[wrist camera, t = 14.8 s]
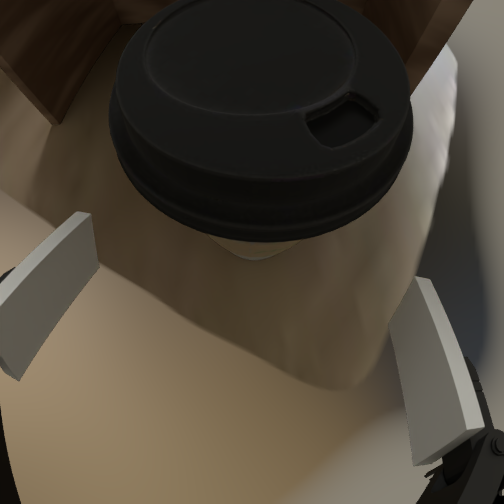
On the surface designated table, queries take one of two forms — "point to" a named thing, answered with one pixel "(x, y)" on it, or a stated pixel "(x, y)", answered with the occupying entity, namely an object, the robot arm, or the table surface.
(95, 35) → the walnut box
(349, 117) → the coffee cup
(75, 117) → the table surface
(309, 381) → the table surface
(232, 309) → the table surface
